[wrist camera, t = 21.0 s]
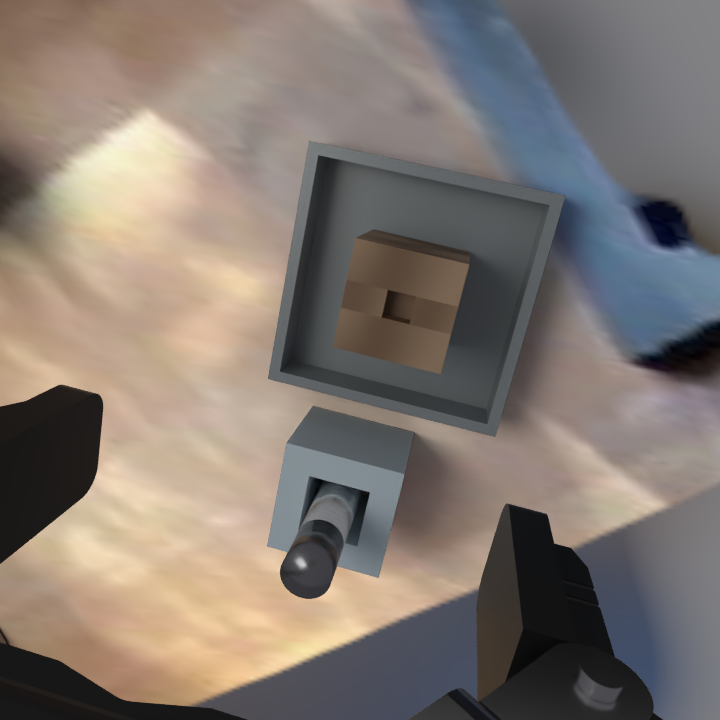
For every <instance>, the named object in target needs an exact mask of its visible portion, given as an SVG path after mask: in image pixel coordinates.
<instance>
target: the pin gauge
mask: <svg viewBox="0 0 720 720" xmlns="http://www.w3.org/2000/svg"><path fill="white" fill-rule="evenodd" d="M362 494H363V490H359V489H356V488H352V487H348V486H345V485H341V484H337V483H333V482H330V481H326V480H324V481H323V483H322V485H321V487H320V489H319V491H318V493H317V495H316V497H315V499H314V501H313V503H312V505H311V507H310V509H309V511H308V513H307V515H306V517H305V519H304V521H303V523H302V525H301V527H300V529H299V531H298V533H297V535H296V537H295V539H294V541H293V543H292V545H291V547H290V549H289V551H288V553H287V555H286V557H285V559H284V561H283V563H282V565H281V568H280V576H281V580H282V582H283V584H284V586H285V587H286V588H287V589H288V590H289V591H290V592H291V593H292V594H294V595H296V596H298V597H301V598H306V599H312V598H317V597H320V596H321V595H323V594H324V593H325V592H326V591H327V590H328V589H329V587H330V584H331V581H332V579H333V576H334V573H335V570H336V567H337V564H338V562H339V559H340V556H341V553H342V550H343V548H344V545H345V542H346V539H347V536H348V533H349V531H350V528H351V525H352V522H353V519H354V517H355V514H356V511H357V508H358V505H359V502H360V500H361V497H362Z"/></svg>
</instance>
